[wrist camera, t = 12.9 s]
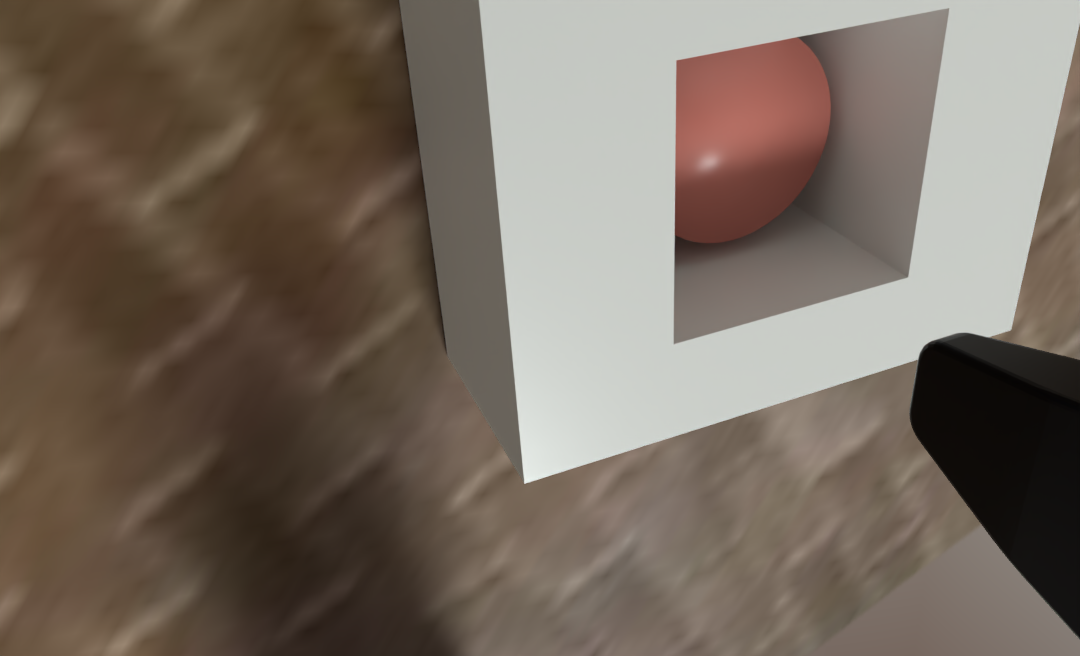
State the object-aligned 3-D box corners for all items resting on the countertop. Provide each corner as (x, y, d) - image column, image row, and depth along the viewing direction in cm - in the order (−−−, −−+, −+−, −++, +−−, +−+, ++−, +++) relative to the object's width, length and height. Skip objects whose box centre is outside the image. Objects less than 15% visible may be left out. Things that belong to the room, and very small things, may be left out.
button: (596, 227, 22) (636, 264, 21) (588, 22, 20) (633, 47, 18) (770, 186, 24) (820, 217, 22) (783, -12, 21) (840, 8, 20)
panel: (447, 356, 23) (524, 483, 19) (385, -103, 18) (473, -59, 14) (870, 242, 27) (1011, 330, 23) (923, -170, 21) (1118, -152, 17)
